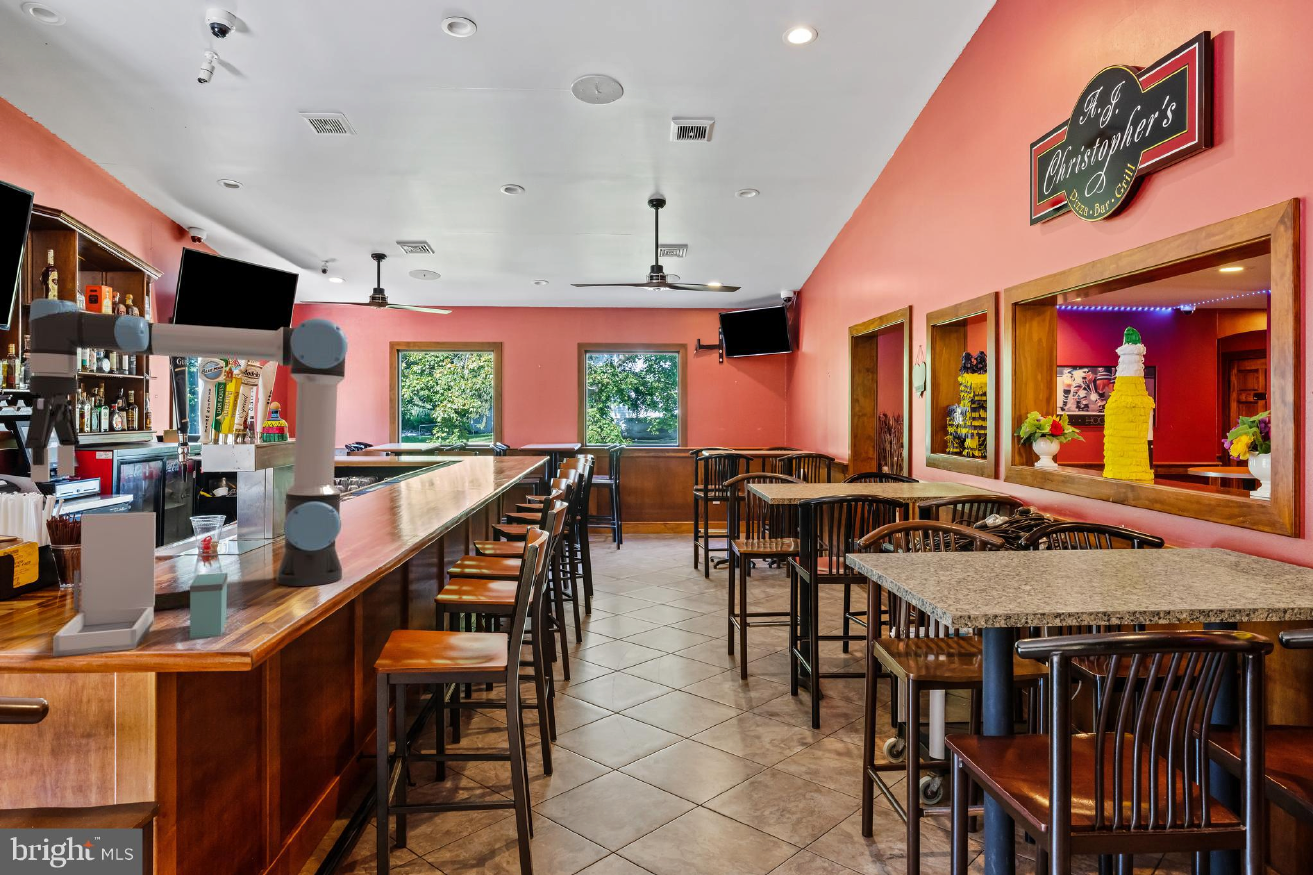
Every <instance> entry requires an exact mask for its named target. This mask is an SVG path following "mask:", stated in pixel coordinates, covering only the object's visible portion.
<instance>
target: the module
mask: <svg viewBox="0 0 1313 875" xmlns="http://www.w3.org/2000/svg"><path fill="white" fill-rule="evenodd" d="M227 584H228V572H221V573H220V572H219V573H204V574H203V573H201V574H196V575H195V577H194V579H193V581H192V582H191V583H190V585H189V590H190V606H189V610H190V611H189V624H190V625H189V639H190V640H192V639H193V640H194V639H203V638H212V637H213V638H214V637H221V636H222V634H223V631H224V629H225V626H226V624H227V597H228V596H227V594H228V593H227V592H228V591H227V589H228V588H227V587H228V586H227Z"/></svg>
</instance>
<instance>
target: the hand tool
mask: <svg viewBox="0 0 1313 875" xmlns="http://www.w3.org/2000/svg"><path fill="white" fill-rule="evenodd" d="M188 606H189V607H190V589H187V590H185V589H184V590H182V591H174V592H173V591H172V592H163V593H155V605H154V611H155V610H163V609H172V608H181V607H182V608H183V607H188Z"/></svg>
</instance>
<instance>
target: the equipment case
mask: <svg viewBox="0 0 1313 875" xmlns="http://www.w3.org/2000/svg"><path fill="white" fill-rule="evenodd" d="M156 515H157V512H154V511H153V512H125V513H124V512H123V513H119V512H118V513H92V514H91V513H88V514H87V513H84V514H80V517H81V518H80V522H81V523H80V525H81V526H80V535H81V536H80V545H81V546H80V570H74V572H73V614H77V615H75V616H74V617H73V618H72V619H71V620H70V621H69V622H68V623H66V625H64V626H63V627H62V628H60V630H59V631H58V632H56V633H55V634H54V635H53V638H52V639H53V641H52V642H53V643H52V644H53V645H52V646H53V647H52V651H53V652H52V654H53V655H52V657H53V658H54V657H65V656H66V657H67V656H76V655H86V654H96V653H108V652H115V651H116V652H117V651H126V650H127V651H129V650H137V648H138V647H139V645H140V644H141V642H142V641H143V640H144V638H145V637H146V635H147V634H148V633H149V631H150V629H151V628H152V627H153V625H154V624H155V620H154V616H155V615H154V614H155V613H154V611H155V610H154V605H155V594H156V528H157V527H156V517H157V516H156Z"/></svg>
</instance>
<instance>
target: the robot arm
mask: <svg viewBox="0 0 1313 875" xmlns="http://www.w3.org/2000/svg"><path fill="white" fill-rule="evenodd" d="M29 309H30V310H29V312H30V313H29V319H28V323H29V324H28V326H29V358H26V362H27V363H28V364H29V372H30V373H31V374H33V375H31V376H30V377H29V387H28V388H29V390H28V391H29V393H30V394H32V395H40V398H33V399H32V410H31V414H30V420H29V423H28V430H27V434H26V438H25V443H24V448H25V449H26V450H29V449H30V483H49V482H50V474H51V473H50V469H51V468H50V466H51V465H50V464H51V463H50V455H51V452H50V451H51V450H50V448H48V446H49V442H50V439H51V436H52V434H53V431H54V430H55V434H56V438H57V440H58V443H59V445H57V446H56V447H57V449H56V450H57V459H56V460H57V464H56V466H57V469H56V470H57V474H56V475H57V477H74V476H75V446H80V440H79V436H78V435H79V434H78V430H77V424H76V419H75V412H74V401H73V399H67V396H76V395H77V394H78V379H77V378H76V377H75V376H77V375H78V368H79V367H78V349H90V350H91V349H92V350H107V351H113V352H116V353H117V354H118V355H119V354H120V355H123V356H160V357H161V356H162V357H182V358H202V359H220V360H222V359H223V360H236V361H237V360H239V361H240V360H241V361H259V362H276V363H277V364H279V365H280V366H281V367H290V371H289V372H290V377H291V378H293V380H295V381H296V408H295V409H296V410H295V414H296V415H295V440H294V441H295V442H294V464H293V465H294V466H293V484H292V486H290V488H288V489H287V491H285V493H286V494H285V500H284V505H285V506H284V507H285V509H284V510H285V513H284V514H285V515H284V524H283V532H284V552H283V554H282V558H281V561H279V566H278V568H277V571H276V578H275V580H276V583H277V584H278V585H282V586H289V587H309V586H319V585H326V584H331V583H334V582H335V583H336V582H338V581H339V580H341V579H342V578H343V568H342V565H341V564H342V563H341V562H340V558H339V556H338V552H337V550H336V539H337V537H338V536H339V534H340V532H341V529H342V528H341V527H342V520H341V517H340V510H341V508H340V506H341V491H340V490H339V489H338V488H337V487H336V485H335V458H336V457H335V456H336V434H337V433H336V432H337V430H336V428H337V426H336V425H337V403H338V401H337V400H338V385H339V384H340V383H342V381H343V380H345V373H346V355H347V352H348V347H349V346H348V338H347V337H346V334H345V332H344V331H343V330H342V329H341V327H340V326H339V325H337V324H336V323H335V322H333V321H331V320H328V319H324V318H311V319H310V318H309V319H306V320H304V321H302V322H300V323H298V325H297V326H296V327H288V326H287V327H285V326H281V327H280V328H279V329H277V330H269V329H268V330H267V329H253V328H252V329H251V328H250V329H249V328H240V327H239V328H236V327H222V326H206V325H205V326H204V325H192V324H190V325H189V324H175V323H160V322H148V320H147V319H146V318H145V317H143V316H136V315H130V314H111V313H109V314H108V313H95V312H94V313H93V312H84V311H80V310H79V309H78V305H77V304H76V303H75V302H74V301H70V300H64V299H63V300H61V299H54V298H36V299H34V300H33V301H31V302H30V308H29Z"/></svg>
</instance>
